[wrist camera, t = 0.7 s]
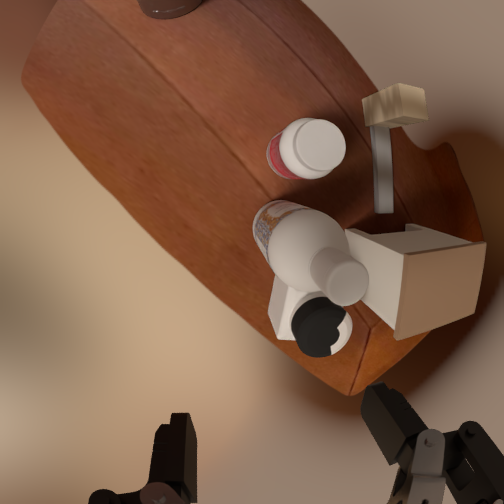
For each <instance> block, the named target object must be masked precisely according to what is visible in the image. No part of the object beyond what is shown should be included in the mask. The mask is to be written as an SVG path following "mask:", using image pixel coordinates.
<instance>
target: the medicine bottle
mask: <svg viewBox="0 0 504 504" xmlns="http://www.w3.org/2000/svg"><path fill="white" fill-rule="evenodd" d="M342 307H343V306H340V305H337V304H335V303H333V302H332V301H331V300H330V299H329V298H328V297H327V296H326V295H325V294H324V293H323V292H322V290H321V291H316V292H305V291H300V290H297V289H294V288H292V287H290V286H288V285H287V284H285V283H284V282H283V281H282V280H280V279H279V278H278V277H277V276H276V274H275V279H274V284H273V289H272V294H271V299H270V304H269V309H268V315H269V317H270V320H271V323H272V325H273V328H274V331H275V333H276V336H277V338H278V339H280V340H296V342H297V344H298V346H299V348H300V350H301V351H302V352H303V353H305V354H306V355H308V356H311V357H326V356H329V355H332V354H334V353H336V352H337V351H339V350H340V349H341V348H342V347H343V346H344V345H345V344H346V342H347V341H348V339H349V337H350V335H351V332H352V320H351V317H350V316H349V314H348V313H347V312H346V311H345V310H344V309H343V308H342Z"/></svg>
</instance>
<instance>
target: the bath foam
mask: <svg viewBox="0 0 504 504" xmlns="http://www.w3.org/2000/svg"><path fill="white" fill-rule="evenodd" d="M253 234H254V238H255V241H256V243H257V245H258V246H259V248H260V250H261V251H262V253H263V255H264V256H265V258H266V260H267V262H268V263H269V265H270V267H271V268H272V270H273V272H274V273H275V274H276V276H277V277H278V278H279V279H280V280H282V281H283V282H284V283H285V284H287V285H288V286H290V287H292V288H294V289H297V290H300V291H305V292H316V291H321V290H322V292H323V293H324V294H325V295H326V296H327V297H328V298H329V299H330V300H331V301H332V302H333V303H335V304H337V305H340V306H348V305H351V304H354V303H356V302H357V301H358V300H360V299H361V298H362V297H363V295H364V294H365V292H366V290H367V288H368V285H369V274H368V271H367V269H366V268H365V266H364V265H363V264H362V263H360V262H359V261H357V260H356V259H354V258H353V257H351V256H350V249H349V243H348V240H347V237H346V235H345V233H344V231H343V229H342V228H341V227H340V225H339V224H338V223H337V222H336V221H335V220H334V219H332V218H331V217H330V216H328V215H327V214H325V213H323V212H321V211H318V210H315V209H312V208H309V207H306V206H303V205H300V204H296V203H293V202H290V201H286V200H276V201H272V202H270V203H268V204H266V205H264V206H263V207H262V208H261V209H260V210H259V211H258V213H257V214H256V216H255V218H254V222H253Z"/></svg>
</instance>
